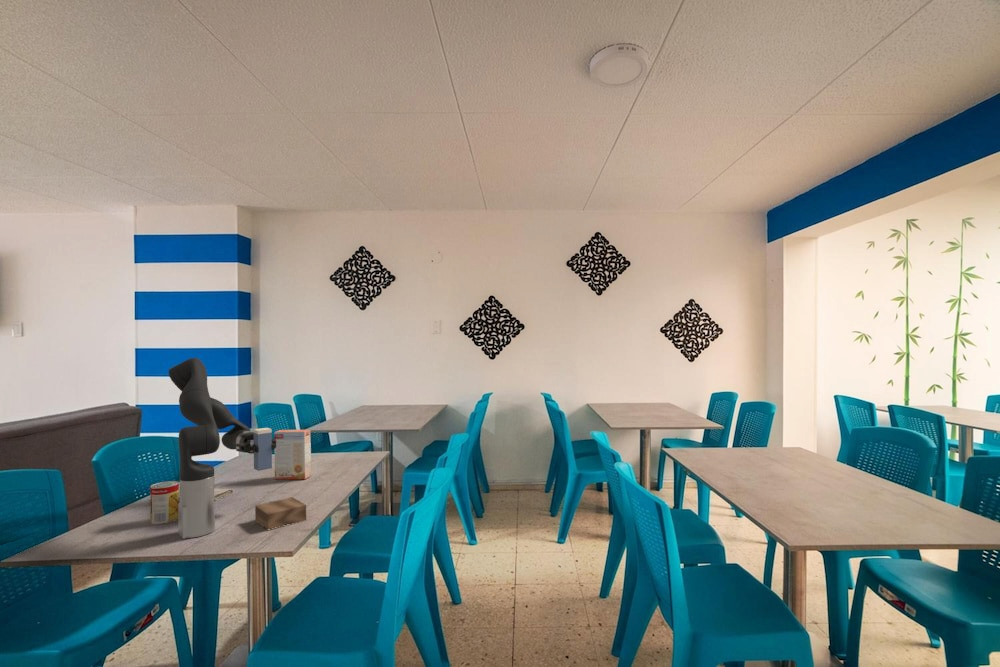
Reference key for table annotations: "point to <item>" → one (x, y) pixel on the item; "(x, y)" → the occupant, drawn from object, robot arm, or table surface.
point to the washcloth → (220, 493)
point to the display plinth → (280, 513)
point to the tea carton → (263, 449)
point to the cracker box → (292, 454)
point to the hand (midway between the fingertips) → (265, 448)
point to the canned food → (164, 502)
